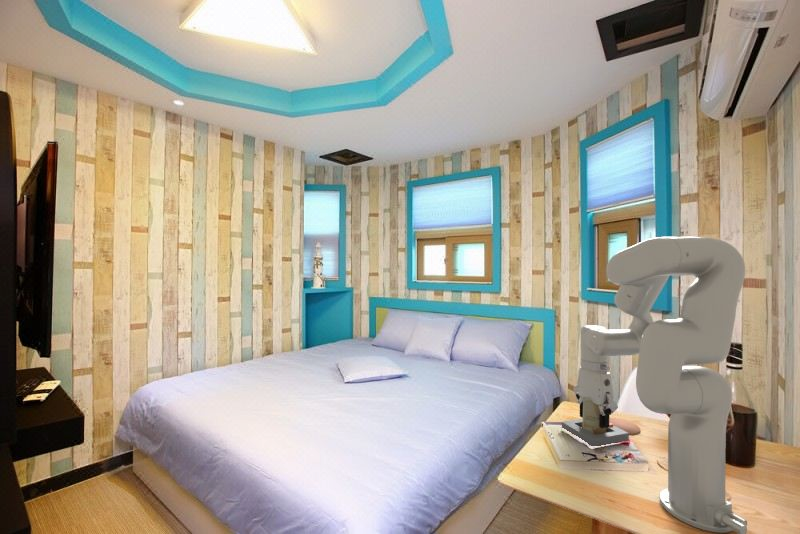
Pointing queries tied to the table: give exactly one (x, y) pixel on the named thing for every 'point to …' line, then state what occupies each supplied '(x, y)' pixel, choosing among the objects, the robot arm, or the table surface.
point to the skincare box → (591, 417)
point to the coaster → (625, 425)
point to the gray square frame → (609, 437)
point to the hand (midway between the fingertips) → (594, 421)
